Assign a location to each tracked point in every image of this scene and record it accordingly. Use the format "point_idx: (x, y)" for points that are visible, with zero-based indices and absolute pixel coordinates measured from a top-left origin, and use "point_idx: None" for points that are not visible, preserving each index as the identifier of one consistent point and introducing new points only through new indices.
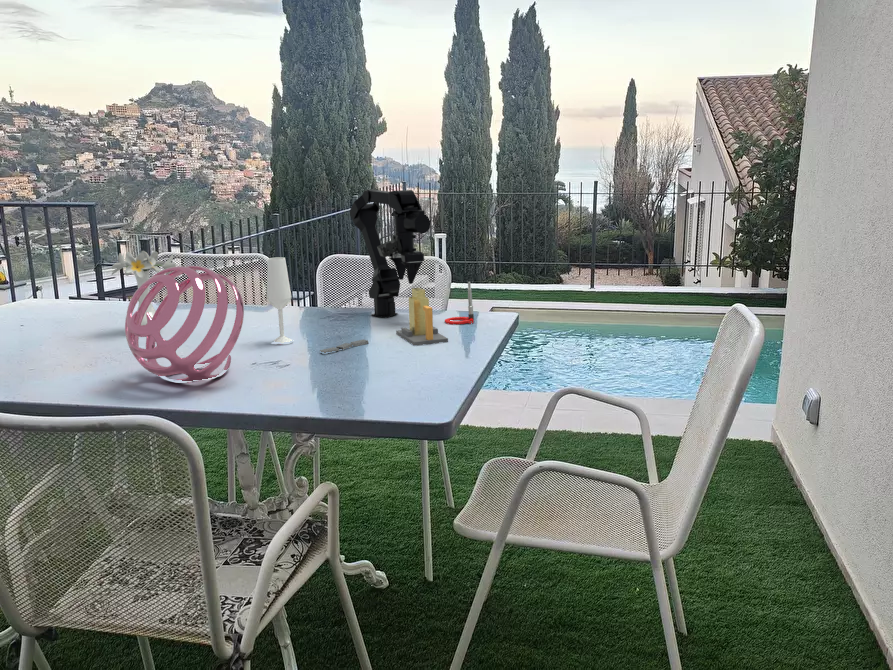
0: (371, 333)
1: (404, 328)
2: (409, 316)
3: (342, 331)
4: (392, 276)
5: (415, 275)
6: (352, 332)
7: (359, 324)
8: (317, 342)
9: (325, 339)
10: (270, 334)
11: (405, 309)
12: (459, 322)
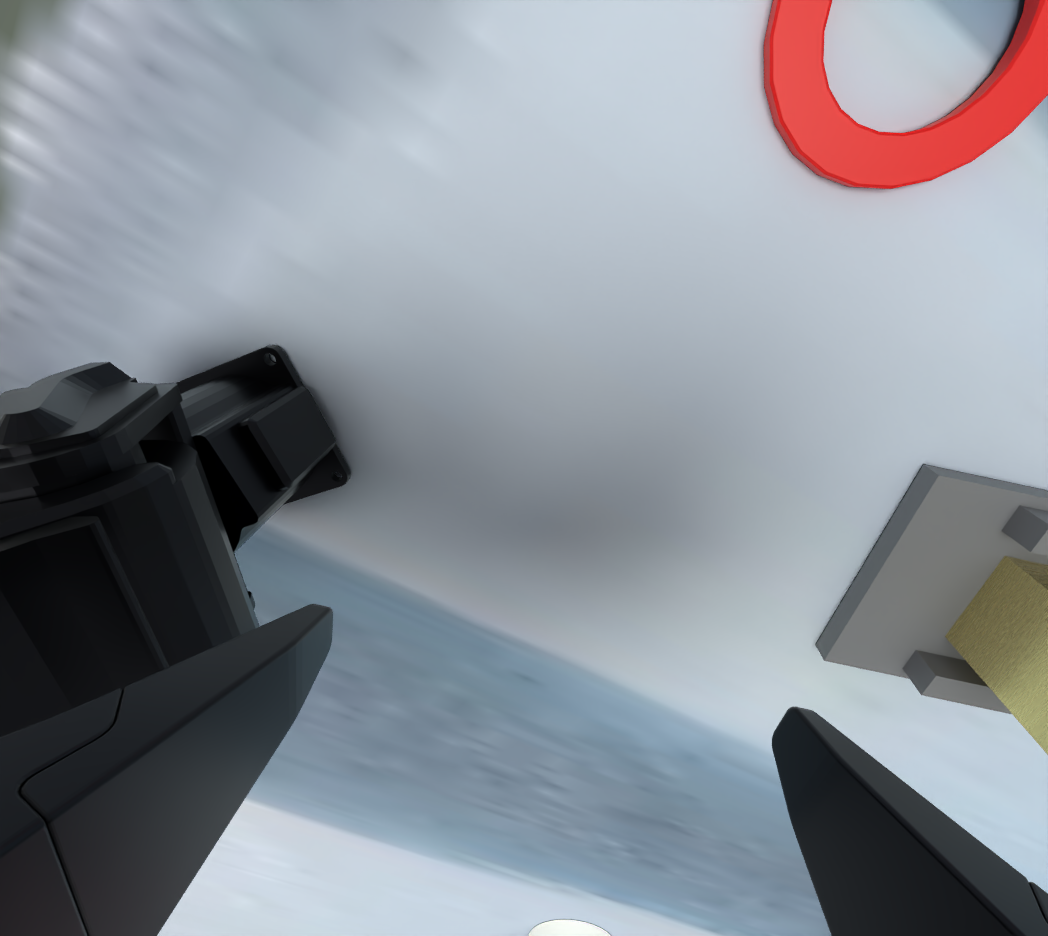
0: (689, 714)
1: (953, 691)
2: (1034, 733)
3: (543, 771)
4: (64, 637)
5: (961, 837)
6: (597, 755)
7: (438, 659)
8: (664, 892)
9: (639, 862)
10: (415, 920)
11: (62, 151)
12: (1042, 97)
